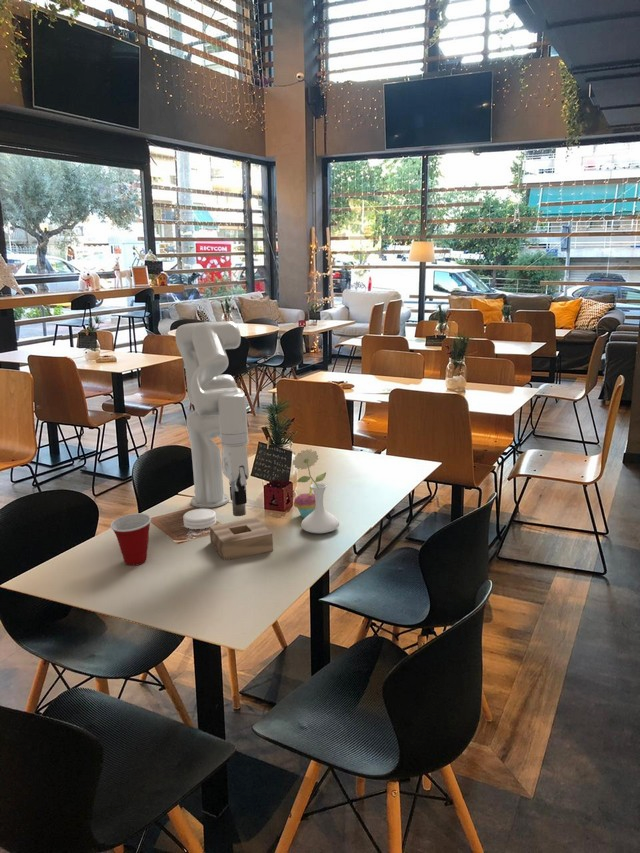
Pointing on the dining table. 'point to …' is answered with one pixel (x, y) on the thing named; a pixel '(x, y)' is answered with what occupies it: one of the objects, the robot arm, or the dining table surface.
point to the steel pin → (237, 509)
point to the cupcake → (305, 503)
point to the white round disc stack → (199, 519)
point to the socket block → (241, 538)
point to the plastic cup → (132, 537)
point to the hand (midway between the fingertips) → (238, 501)
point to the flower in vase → (319, 517)
